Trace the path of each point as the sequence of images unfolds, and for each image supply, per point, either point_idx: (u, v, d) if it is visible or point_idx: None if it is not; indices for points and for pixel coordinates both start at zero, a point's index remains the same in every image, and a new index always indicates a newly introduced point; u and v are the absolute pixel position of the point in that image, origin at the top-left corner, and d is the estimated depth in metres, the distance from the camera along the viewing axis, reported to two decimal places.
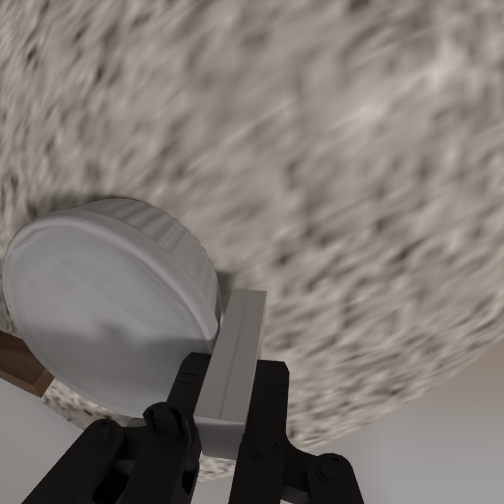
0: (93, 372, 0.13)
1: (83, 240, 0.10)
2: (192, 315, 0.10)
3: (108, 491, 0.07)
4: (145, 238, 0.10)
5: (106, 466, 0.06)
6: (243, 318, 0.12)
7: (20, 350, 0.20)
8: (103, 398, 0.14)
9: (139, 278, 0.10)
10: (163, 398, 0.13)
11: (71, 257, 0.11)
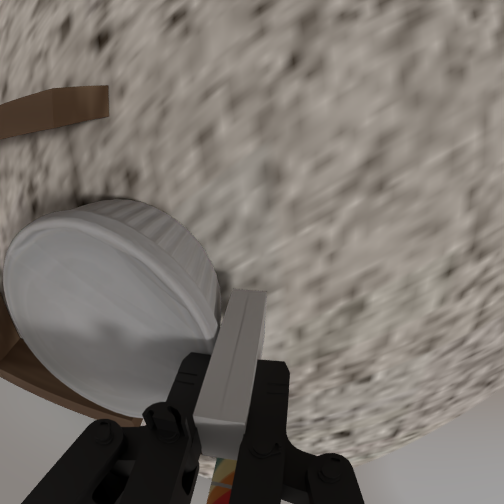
0: (94, 372, 0.13)
1: (82, 240, 0.10)
2: (191, 315, 0.10)
3: (108, 491, 0.07)
4: (144, 239, 0.10)
5: (106, 466, 0.06)
6: (243, 318, 0.12)
7: None
8: (104, 398, 0.14)
9: (138, 278, 0.10)
10: (163, 398, 0.13)
11: (71, 258, 0.11)
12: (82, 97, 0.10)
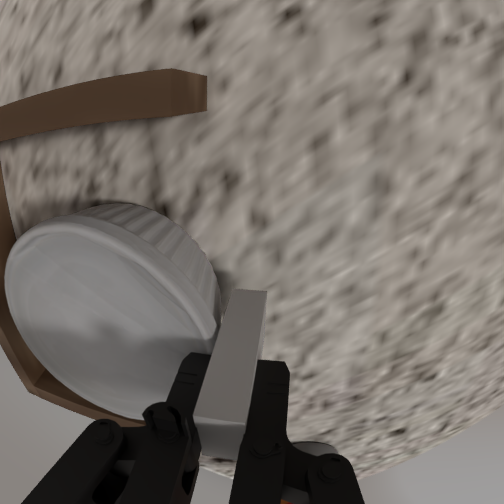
0: (96, 375, 0.13)
1: (83, 245, 0.10)
2: (191, 318, 0.10)
3: (108, 491, 0.07)
4: (143, 244, 0.10)
5: (106, 466, 0.06)
6: (243, 318, 0.12)
7: None
8: (106, 400, 0.14)
9: (138, 283, 0.11)
10: (164, 400, 0.13)
11: (71, 262, 0.11)
12: (191, 85, 0.10)
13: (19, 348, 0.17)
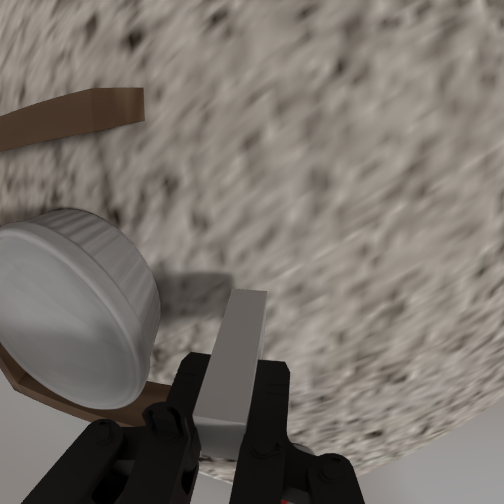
0: (51, 364, 0.13)
1: (27, 247, 0.11)
2: (108, 310, 0.11)
3: (107, 491, 0.07)
4: (68, 244, 0.11)
5: (105, 466, 0.06)
6: (244, 318, 0.12)
7: None
8: (64, 389, 0.14)
9: (68, 278, 0.11)
10: (107, 388, 0.13)
11: (21, 262, 0.11)
12: (119, 99, 0.10)
13: (2, 347, 0.17)
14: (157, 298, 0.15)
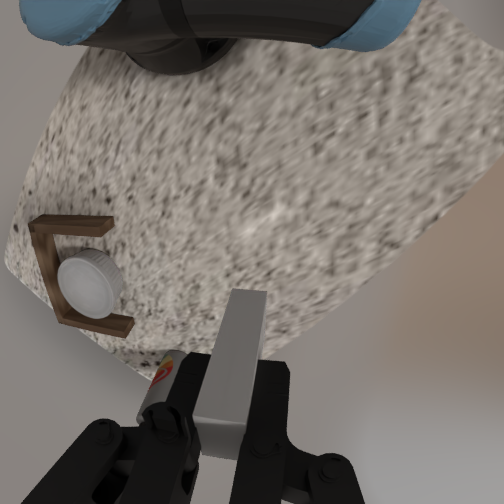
0: (84, 301, 0.45)
1: (81, 262, 0.42)
2: (105, 280, 0.42)
3: (107, 491, 0.07)
4: (95, 262, 0.42)
5: (105, 466, 0.06)
6: (244, 318, 0.12)
7: (111, 318, 0.51)
8: (87, 311, 0.46)
9: (94, 271, 0.42)
10: (103, 307, 0.44)
11: (78, 266, 0.42)
12: (106, 224, 0.41)
13: (58, 301, 0.48)
14: (121, 278, 0.46)
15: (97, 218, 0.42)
